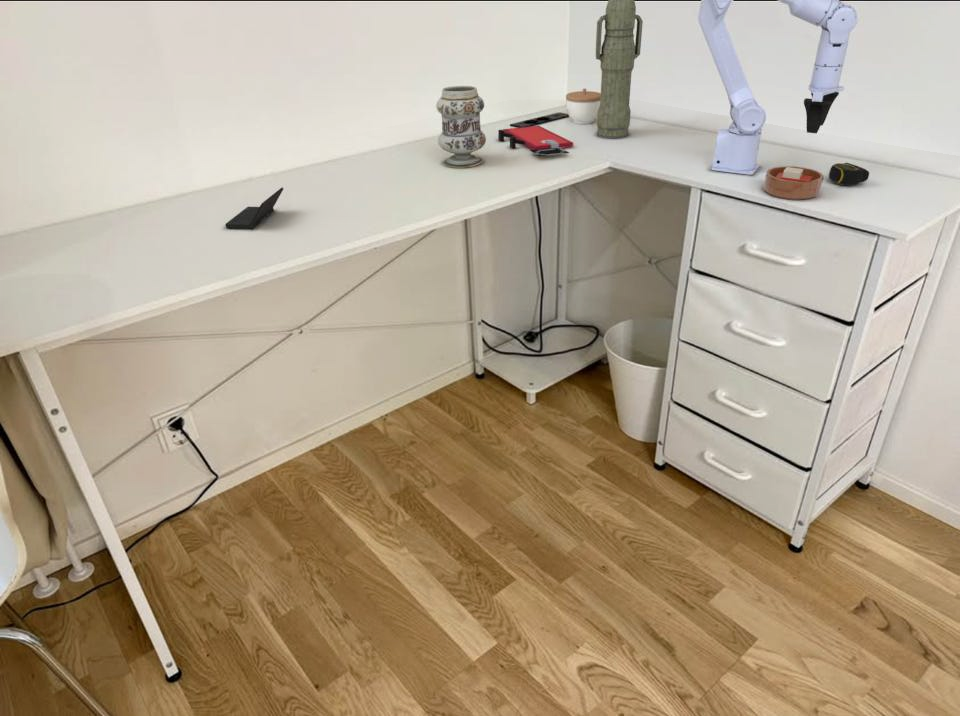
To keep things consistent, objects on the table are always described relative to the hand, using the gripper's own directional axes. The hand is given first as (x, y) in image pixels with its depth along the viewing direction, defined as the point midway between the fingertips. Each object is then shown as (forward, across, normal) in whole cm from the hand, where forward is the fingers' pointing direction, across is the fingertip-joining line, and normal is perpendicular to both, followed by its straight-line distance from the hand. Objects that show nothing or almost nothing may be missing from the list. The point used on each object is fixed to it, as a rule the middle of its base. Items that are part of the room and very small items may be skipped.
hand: (814, 128), depth 158 cm
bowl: (+9, -18, 0) cm, 20 cm away
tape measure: (+10, -6, -9) cm, 15 cm away
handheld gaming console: (+10, -83, +94) cm, 126 cm away
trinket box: (+10, +23, +67) cm, 71 cm away
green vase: (+10, +12, +53) cm, 55 cm away
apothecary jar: (+10, -29, +77) cm, 83 cm away
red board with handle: (+10, -6, +68) cm, 69 cm away
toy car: (+9, -18, 0) cm, 20 cm away
